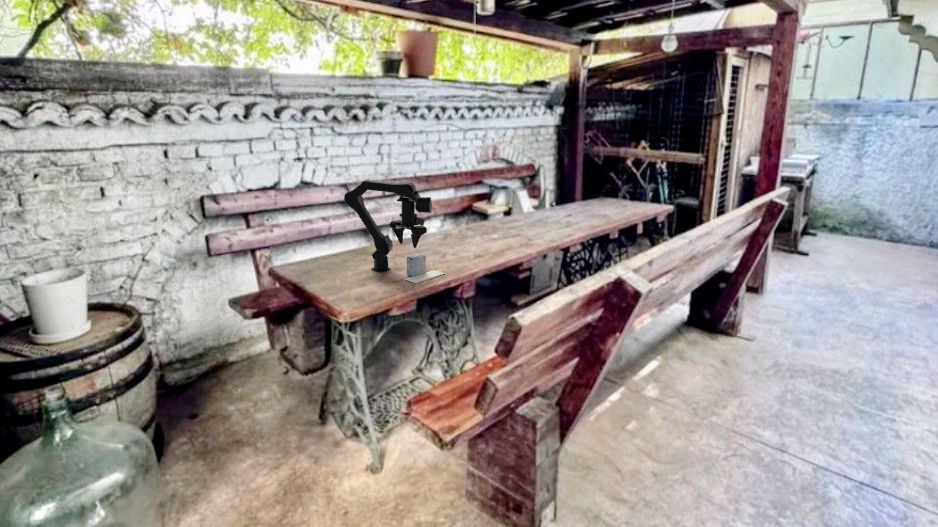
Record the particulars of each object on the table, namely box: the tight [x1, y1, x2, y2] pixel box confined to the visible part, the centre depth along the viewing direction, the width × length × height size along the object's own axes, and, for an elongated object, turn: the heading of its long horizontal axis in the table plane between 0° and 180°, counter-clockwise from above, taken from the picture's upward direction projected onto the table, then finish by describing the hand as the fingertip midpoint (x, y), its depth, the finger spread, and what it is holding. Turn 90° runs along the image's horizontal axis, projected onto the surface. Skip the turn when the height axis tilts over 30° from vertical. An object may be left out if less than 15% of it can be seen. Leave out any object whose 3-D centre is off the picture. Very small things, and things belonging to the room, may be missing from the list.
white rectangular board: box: [404, 269, 446, 284], centre depth 225 cm, size 6×18×1 cm, turn 139°
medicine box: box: [406, 253, 427, 277], centre depth 227 cm, size 8×4×9 cm, turn 141°
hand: (408, 245), depth 229 cm, fingers open, 9 cm apart
